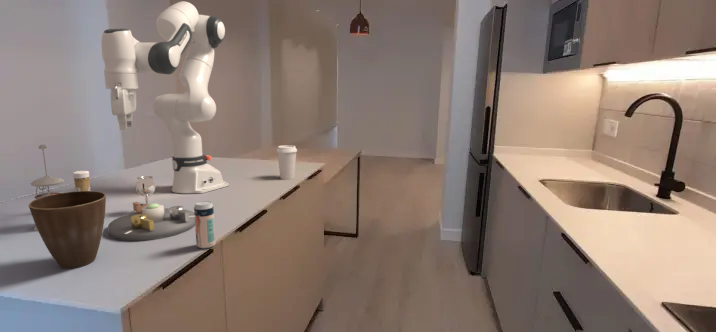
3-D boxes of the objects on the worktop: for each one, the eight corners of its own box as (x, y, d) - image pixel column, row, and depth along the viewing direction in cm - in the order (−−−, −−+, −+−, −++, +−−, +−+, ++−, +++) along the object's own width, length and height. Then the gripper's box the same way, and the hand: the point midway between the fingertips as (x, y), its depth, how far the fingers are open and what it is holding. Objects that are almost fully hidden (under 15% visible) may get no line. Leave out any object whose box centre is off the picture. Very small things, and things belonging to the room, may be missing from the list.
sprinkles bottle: (93, 210, 140) (88, 172, 137) (77, 212, 137) (72, 173, 135) (93, 207, 143) (88, 169, 141) (77, 209, 141) (72, 171, 138)
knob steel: (167, 217, 127) (166, 207, 126) (180, 214, 130) (179, 204, 129) (181, 223, 121) (180, 212, 121) (193, 220, 124) (193, 209, 124)
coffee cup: (302, 177, 193) (301, 146, 190) (288, 181, 185) (287, 148, 182) (286, 175, 198) (286, 144, 195) (272, 178, 190) (271, 146, 187)
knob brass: (128, 226, 118) (127, 216, 117) (142, 222, 121) (141, 212, 121) (145, 232, 113) (144, 221, 113) (158, 228, 117) (157, 217, 116)
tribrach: (173, 209, 142) (172, 190, 141) (211, 225, 127) (210, 204, 125) (95, 227, 124) (93, 205, 122) (129, 247, 109) (126, 223, 107)
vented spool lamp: (41, 233, 118) (29, 148, 113) (24, 226, 124) (12, 144, 119) (79, 224, 126) (69, 144, 121) (61, 217, 132) (51, 140, 127)
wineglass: (138, 215, 135) (134, 180, 133) (138, 210, 140) (135, 176, 138) (157, 213, 138) (154, 178, 135) (157, 208, 143) (154, 175, 140)
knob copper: (153, 214, 129) (152, 204, 128) (140, 217, 126) (139, 207, 125) (142, 209, 134) (141, 199, 134) (129, 211, 131) (128, 202, 131)
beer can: (199, 242, 113) (196, 200, 110) (217, 242, 113) (215, 200, 111) (194, 249, 108) (191, 205, 106) (212, 249, 108) (210, 205, 106)
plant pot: (91, 275, 93) (83, 207, 90) (22, 277, 92) (11, 208, 89) (123, 249, 107) (117, 190, 104) (64, 250, 106) (55, 191, 103)
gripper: (127, 83, 117) (132, 131, 120) (138, 83, 136) (142, 124, 139) (102, 83, 115) (107, 132, 118) (116, 83, 134) (121, 125, 136)
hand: (126, 128), depth 128 cm, fingers open, 8 cm apart
